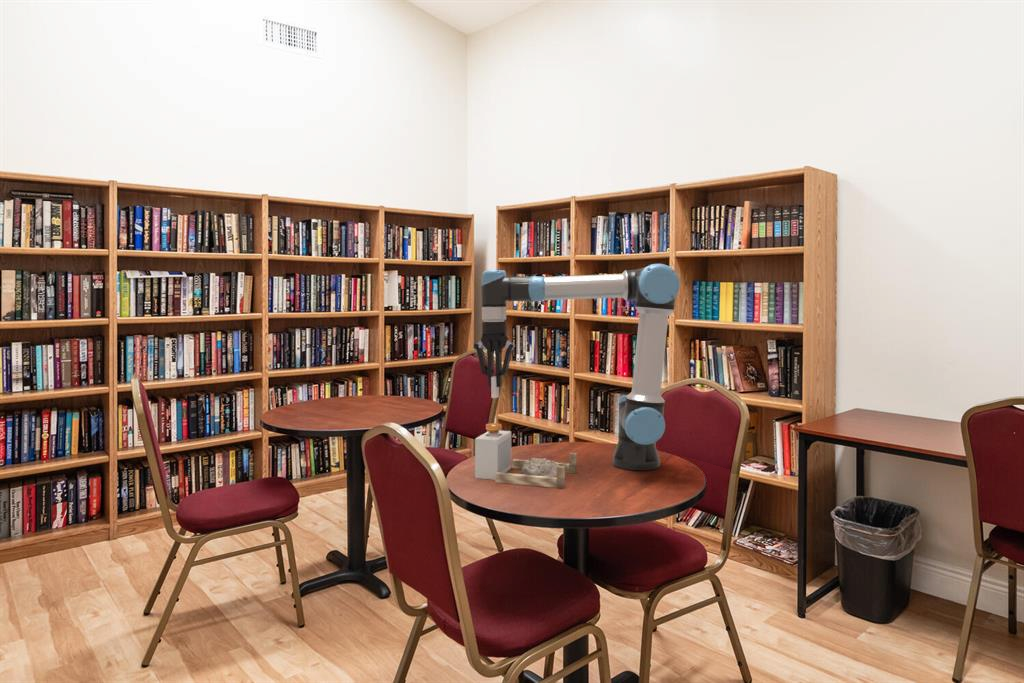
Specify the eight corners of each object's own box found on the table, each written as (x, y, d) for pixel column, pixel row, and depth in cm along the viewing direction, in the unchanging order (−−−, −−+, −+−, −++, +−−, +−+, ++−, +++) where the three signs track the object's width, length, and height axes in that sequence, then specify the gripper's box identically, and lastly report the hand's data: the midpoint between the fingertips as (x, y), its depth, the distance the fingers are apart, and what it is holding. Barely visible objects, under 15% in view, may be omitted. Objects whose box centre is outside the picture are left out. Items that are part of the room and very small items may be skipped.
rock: (541, 472, 208) (541, 453, 207) (564, 479, 199) (564, 460, 199) (513, 477, 201) (513, 458, 201) (536, 485, 192) (536, 465, 192)
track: (576, 471, 207) (576, 452, 207) (563, 488, 189) (563, 467, 189) (514, 466, 213) (514, 448, 213) (495, 482, 195) (495, 462, 195)
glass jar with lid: (503, 450, 206) (503, 423, 206) (498, 454, 202) (498, 426, 201) (488, 449, 208) (488, 422, 207) (483, 452, 203) (483, 425, 203)
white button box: (511, 468, 211) (511, 431, 210) (497, 479, 198) (497, 440, 197) (490, 466, 213) (490, 429, 212) (475, 477, 200) (475, 438, 199)
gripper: (518, 320, 204) (518, 396, 205) (478, 320, 208) (479, 395, 209) (510, 321, 197) (511, 400, 198) (469, 321, 201) (470, 398, 202)
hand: (495, 397), depth 204 cm, fingers closed
